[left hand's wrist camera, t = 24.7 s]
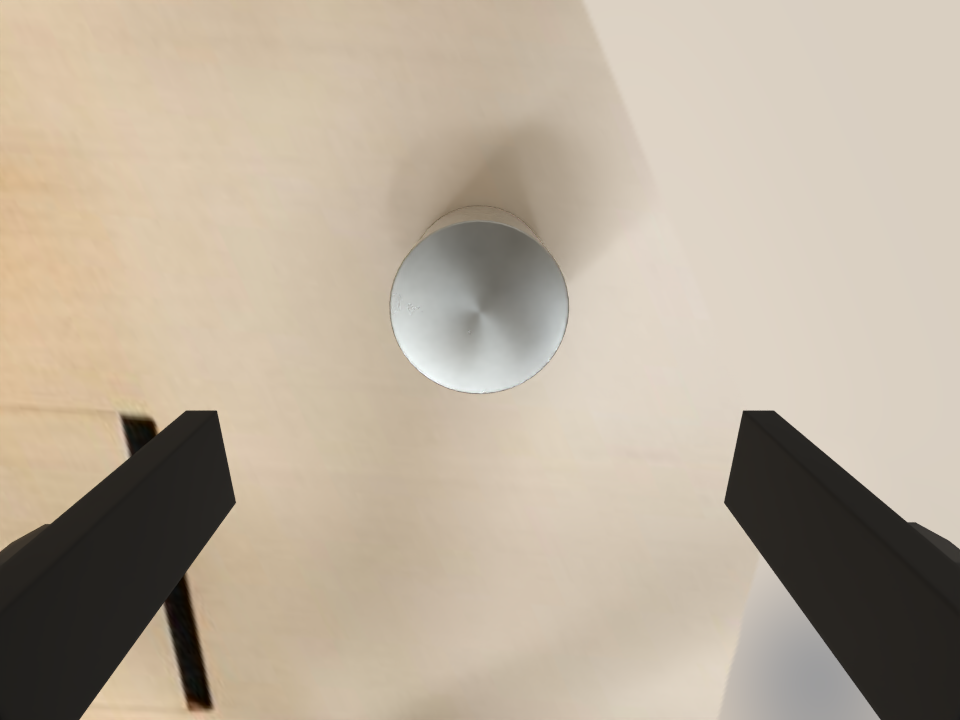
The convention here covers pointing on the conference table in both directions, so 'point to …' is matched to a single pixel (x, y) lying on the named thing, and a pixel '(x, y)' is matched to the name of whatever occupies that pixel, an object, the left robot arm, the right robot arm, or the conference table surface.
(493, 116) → the conference table surface
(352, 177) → the conference table surface
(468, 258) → the tin
